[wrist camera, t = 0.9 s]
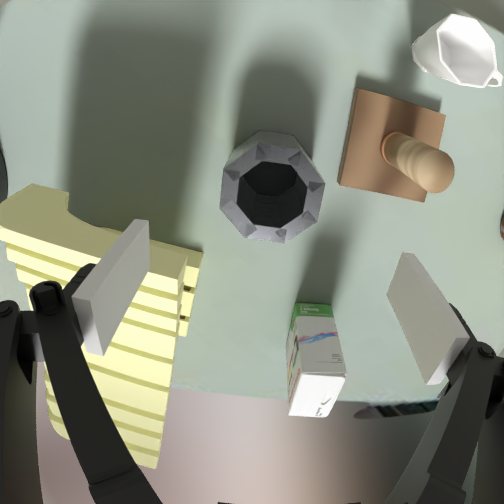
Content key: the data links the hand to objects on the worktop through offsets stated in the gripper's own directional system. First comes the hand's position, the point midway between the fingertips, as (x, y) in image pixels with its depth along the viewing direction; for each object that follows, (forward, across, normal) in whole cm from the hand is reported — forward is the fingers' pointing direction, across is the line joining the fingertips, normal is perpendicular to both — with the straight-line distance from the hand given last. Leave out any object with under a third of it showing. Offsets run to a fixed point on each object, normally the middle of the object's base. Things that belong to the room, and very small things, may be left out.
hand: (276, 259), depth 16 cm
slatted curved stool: (+19, -15, -16) cm, 29 cm away
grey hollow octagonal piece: (+18, 0, 0) cm, 19 cm away
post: (+18, +12, +5) cm, 23 cm away
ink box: (+19, +8, -20) cm, 29 cm away
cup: (+19, +16, +16) cm, 29 cm away
